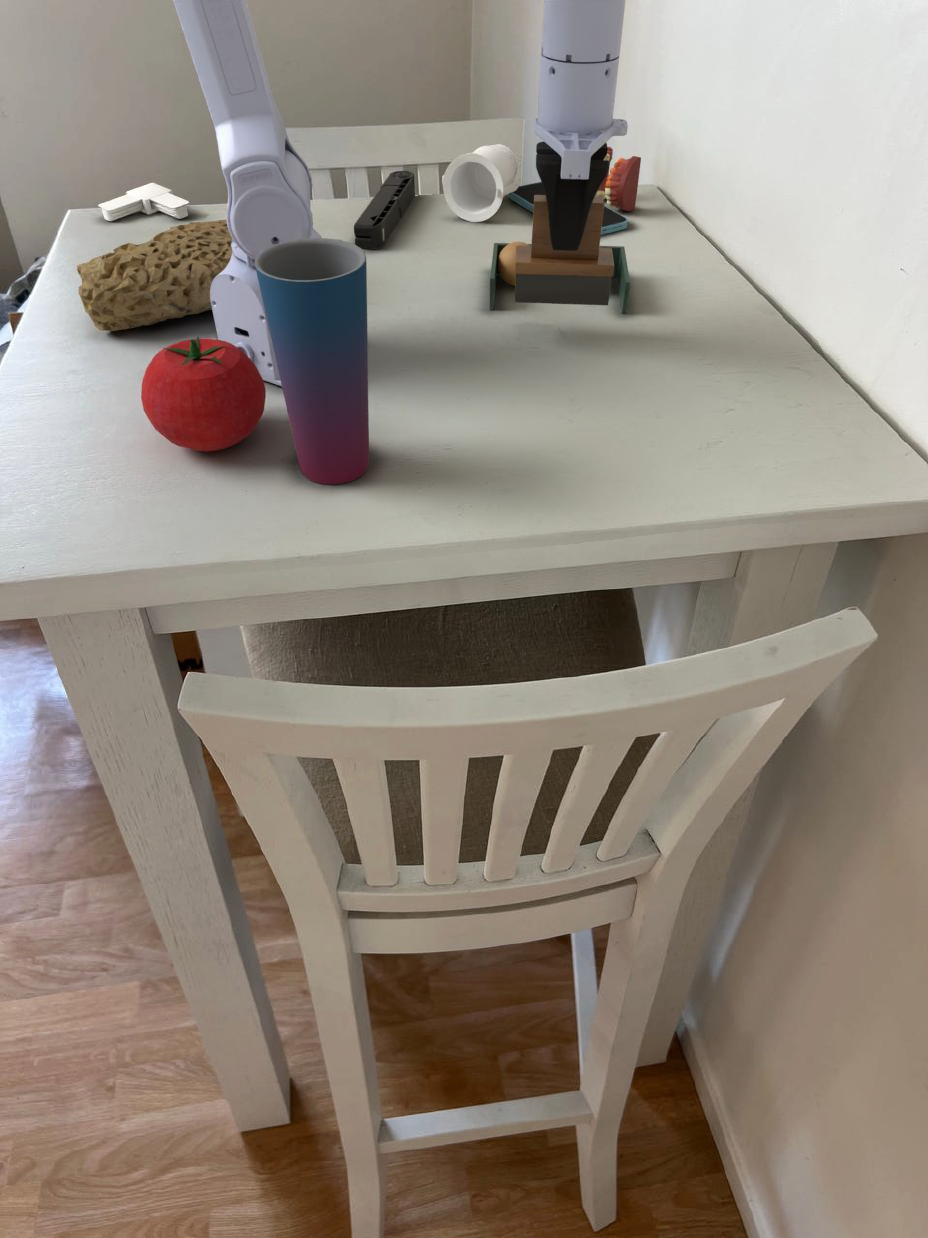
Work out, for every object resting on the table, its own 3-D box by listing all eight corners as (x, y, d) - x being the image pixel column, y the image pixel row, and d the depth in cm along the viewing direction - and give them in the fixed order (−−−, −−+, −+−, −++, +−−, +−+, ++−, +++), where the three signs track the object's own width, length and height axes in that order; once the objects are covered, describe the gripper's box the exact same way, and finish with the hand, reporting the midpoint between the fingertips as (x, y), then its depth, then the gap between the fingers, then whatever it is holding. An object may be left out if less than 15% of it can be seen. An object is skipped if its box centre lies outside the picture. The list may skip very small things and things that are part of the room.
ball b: (505, 287, 85) (531, 251, 83) (482, 262, 87) (507, 227, 85) (527, 298, 88) (553, 265, 86) (505, 274, 90) (530, 241, 88)
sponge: (110, 364, 78) (320, 284, 81) (63, 276, 74) (288, 194, 76) (109, 327, 89) (295, 258, 91) (68, 248, 84) (265, 177, 86)
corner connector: (135, 222, 96) (139, 237, 97) (195, 199, 100) (198, 214, 102) (93, 203, 100) (97, 217, 101) (152, 182, 104) (155, 196, 105)
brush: (609, 306, 76) (621, 208, 70) (513, 303, 76) (517, 205, 70) (607, 287, 78) (618, 192, 73) (514, 284, 79) (518, 189, 73)
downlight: (503, 228, 99) (527, 202, 106) (510, 160, 94) (535, 138, 101) (436, 215, 101) (464, 191, 108) (439, 148, 96) (468, 127, 103)
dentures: (574, 149, 102) (620, 167, 97) (602, 142, 103) (649, 159, 98) (571, 200, 106) (615, 220, 101) (599, 193, 107) (643, 211, 102)
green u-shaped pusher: (626, 313, 83) (630, 282, 81) (489, 309, 84) (490, 278, 82) (618, 264, 91) (622, 234, 89) (494, 260, 92) (495, 231, 90)
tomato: (287, 453, 66) (271, 352, 60) (168, 482, 63) (140, 380, 58) (254, 398, 72) (237, 302, 66) (143, 423, 69) (115, 325, 63)
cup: (268, 475, 64) (231, 267, 53) (322, 431, 68) (297, 230, 58) (348, 502, 61) (325, 289, 51) (398, 454, 66) (387, 249, 55)
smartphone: (578, 233, 96) (505, 188, 105) (577, 243, 96) (504, 198, 105) (632, 220, 98) (555, 178, 107) (631, 230, 99) (555, 187, 108)
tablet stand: (392, 168, 105) (417, 170, 105) (393, 191, 107) (418, 193, 107) (351, 224, 93) (379, 226, 92) (353, 249, 94) (381, 251, 94)
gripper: (643, 80, 59) (618, 280, 69) (628, 34, 70) (608, 213, 79) (537, 77, 60) (526, 277, 69) (538, 32, 70) (529, 211, 80)
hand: (564, 243), depth 74 cm, fingers closed on brush, 2 cm apart
